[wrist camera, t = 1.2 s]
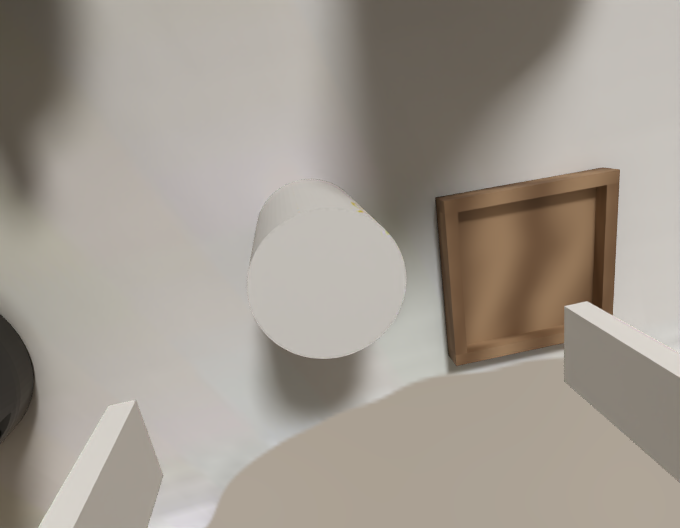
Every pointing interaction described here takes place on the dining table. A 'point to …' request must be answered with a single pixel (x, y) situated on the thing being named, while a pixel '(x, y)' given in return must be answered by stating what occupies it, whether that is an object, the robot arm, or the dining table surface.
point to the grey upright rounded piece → (323, 272)
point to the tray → (525, 260)
